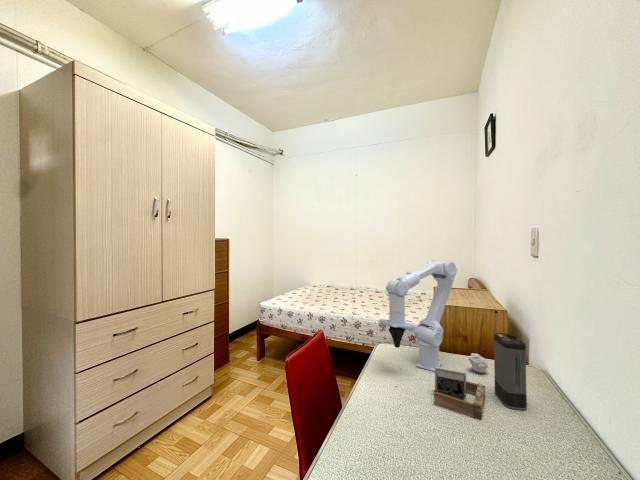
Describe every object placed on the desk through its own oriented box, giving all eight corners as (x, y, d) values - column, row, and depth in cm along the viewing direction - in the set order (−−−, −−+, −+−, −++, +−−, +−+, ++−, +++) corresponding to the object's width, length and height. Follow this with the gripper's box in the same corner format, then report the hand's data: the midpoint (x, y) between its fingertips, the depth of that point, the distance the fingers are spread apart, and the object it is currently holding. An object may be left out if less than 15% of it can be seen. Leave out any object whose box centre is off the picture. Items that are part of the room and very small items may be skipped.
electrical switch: (466, 395, 86) (465, 368, 85) (467, 406, 81) (467, 377, 80) (434, 389, 90) (434, 363, 89) (434, 398, 85) (434, 371, 84)
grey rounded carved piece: (465, 368, 105) (464, 350, 105) (482, 368, 104) (482, 350, 104) (473, 375, 99) (473, 357, 99) (492, 376, 98) (492, 357, 98)
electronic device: (529, 411, 77) (528, 343, 78) (506, 408, 79) (505, 342, 79) (512, 393, 87) (511, 333, 87) (492, 391, 88) (492, 332, 88)
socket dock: (443, 384, 92) (443, 369, 92) (485, 396, 85) (485, 379, 85) (434, 404, 81) (434, 386, 81) (481, 420, 74) (481, 400, 74)
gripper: (375, 310, 101) (375, 345, 101) (413, 316, 93) (413, 354, 93) (382, 307, 107) (382, 340, 107) (418, 312, 99) (419, 348, 98)
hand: (397, 346), depth 100 cm, fingers closed
